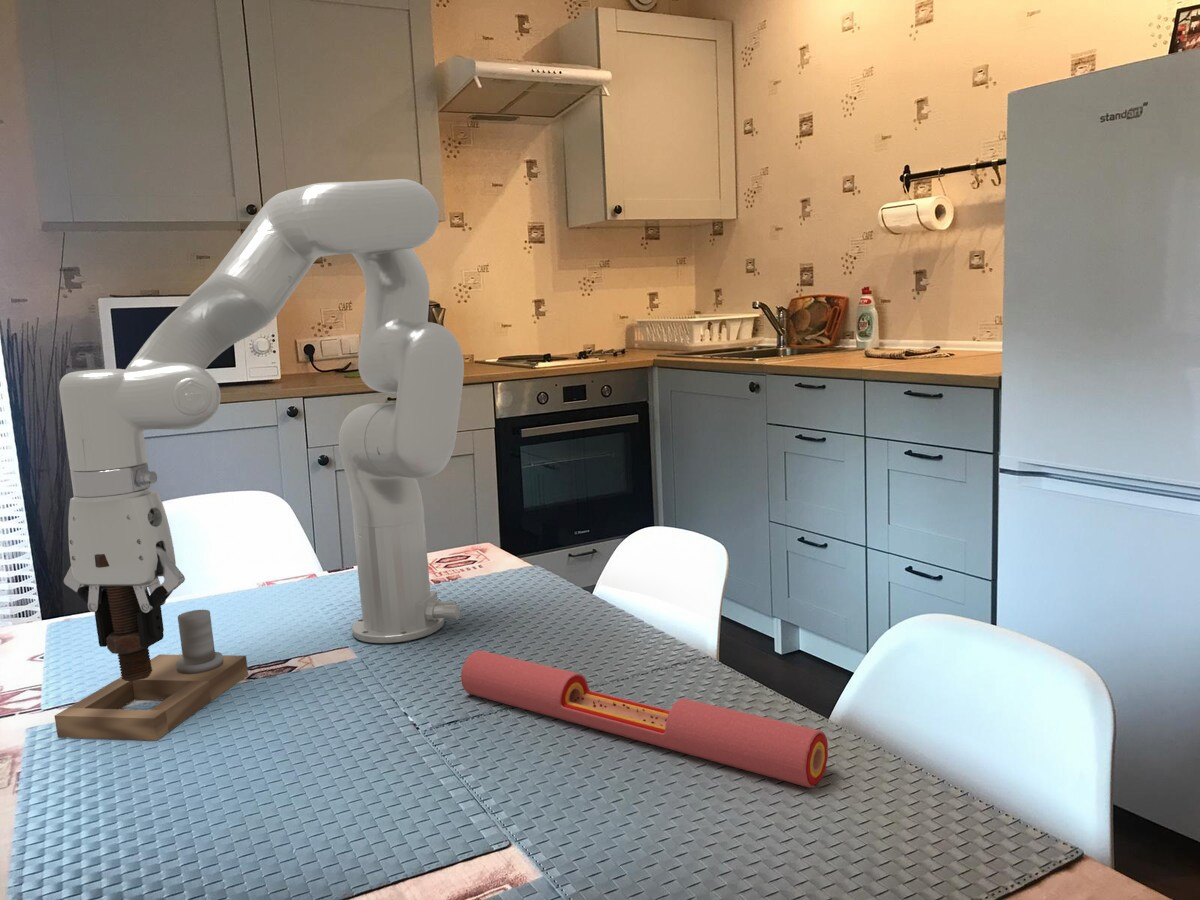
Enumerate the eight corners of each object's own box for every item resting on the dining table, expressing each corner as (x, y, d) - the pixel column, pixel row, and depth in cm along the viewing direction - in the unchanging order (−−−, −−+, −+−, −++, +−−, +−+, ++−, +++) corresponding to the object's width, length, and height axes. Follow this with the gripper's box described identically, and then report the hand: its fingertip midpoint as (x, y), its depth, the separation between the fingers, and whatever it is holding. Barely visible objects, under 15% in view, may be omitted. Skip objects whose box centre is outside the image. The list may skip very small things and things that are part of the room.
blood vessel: (829, 774, 86) (828, 722, 85) (806, 798, 82) (805, 744, 81) (491, 685, 111) (488, 644, 110) (461, 700, 107) (458, 658, 106)
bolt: (139, 687, 103) (117, 552, 101) (99, 688, 104) (76, 555, 102) (173, 667, 108) (152, 540, 106) (135, 669, 109) (114, 543, 108)
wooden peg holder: (248, 674, 117) (240, 605, 116) (156, 740, 100) (145, 659, 99) (161, 673, 120) (152, 605, 118) (57, 737, 102) (45, 658, 101)
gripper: (201, 475, 105) (219, 632, 108) (68, 477, 108) (89, 630, 111) (159, 488, 98) (179, 656, 100) (17, 490, 101) (40, 653, 103)
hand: (131, 641), depth 105 cm, fingers closed on bolt, 4 cm apart
